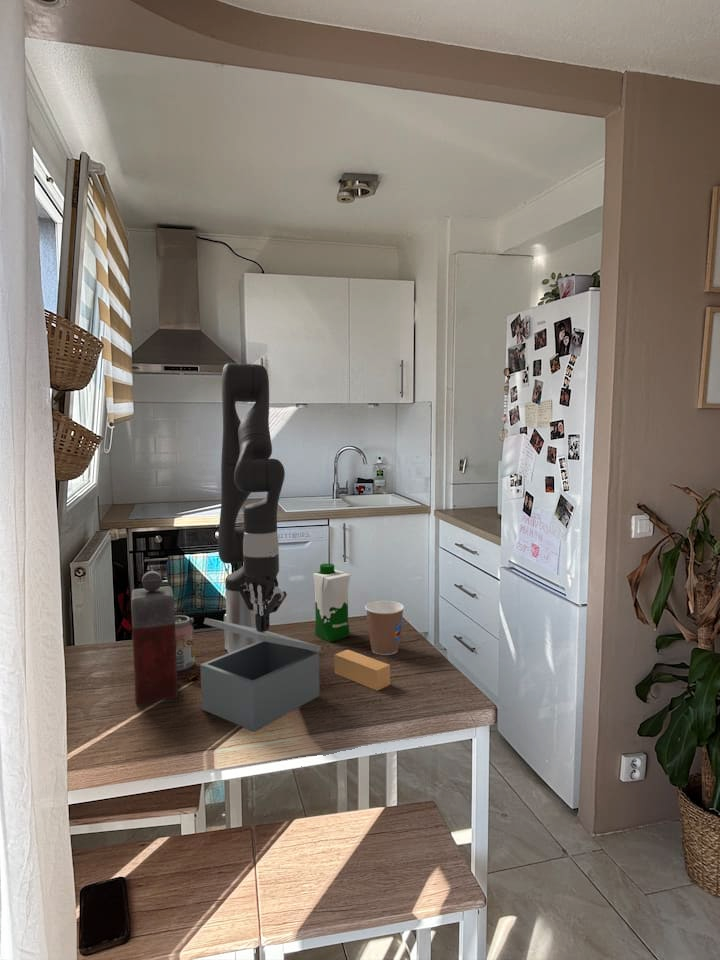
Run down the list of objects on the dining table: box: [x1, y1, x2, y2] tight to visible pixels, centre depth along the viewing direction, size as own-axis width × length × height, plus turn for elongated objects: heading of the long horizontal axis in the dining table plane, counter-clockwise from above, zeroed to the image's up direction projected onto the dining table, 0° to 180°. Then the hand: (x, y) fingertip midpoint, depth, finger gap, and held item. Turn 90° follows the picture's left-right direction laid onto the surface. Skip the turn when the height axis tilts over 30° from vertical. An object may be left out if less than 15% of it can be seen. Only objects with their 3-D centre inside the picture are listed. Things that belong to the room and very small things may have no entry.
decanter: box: [130, 570, 179, 704], centre depth 148 cm, size 9×11×28 cm
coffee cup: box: [364, 600, 405, 656], centre depth 172 cm, size 10×10×12 cm
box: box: [199, 641, 320, 732], centre depth 142 cm, size 16×20×10 cm
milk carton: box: [312, 563, 352, 643], centre depth 182 cm, size 9×9×20 cm
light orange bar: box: [333, 649, 391, 692], centre depth 155 cm, size 14×4×5 cm, turn 46°
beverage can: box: [175, 614, 196, 672], centre depth 163 cm, size 9×8×12 cm
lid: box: [203, 617, 322, 653], centre depth 142 cm, size 17×20×1 cm
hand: (262, 630), depth 141 cm, fingers closed
